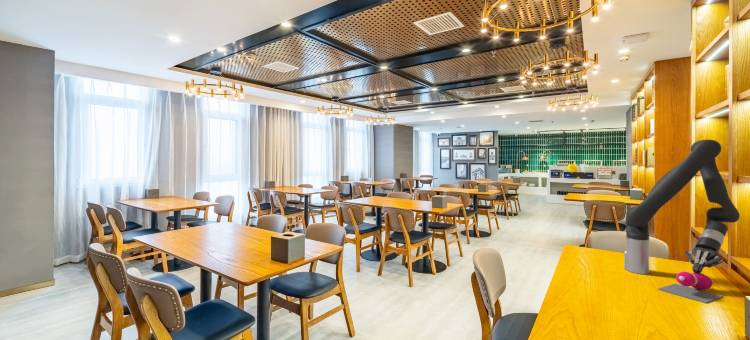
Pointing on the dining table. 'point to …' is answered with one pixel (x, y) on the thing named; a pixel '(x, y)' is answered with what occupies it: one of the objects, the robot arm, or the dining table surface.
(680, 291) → the charcoal mat
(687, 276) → the pepper mill
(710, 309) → the dining table surface
